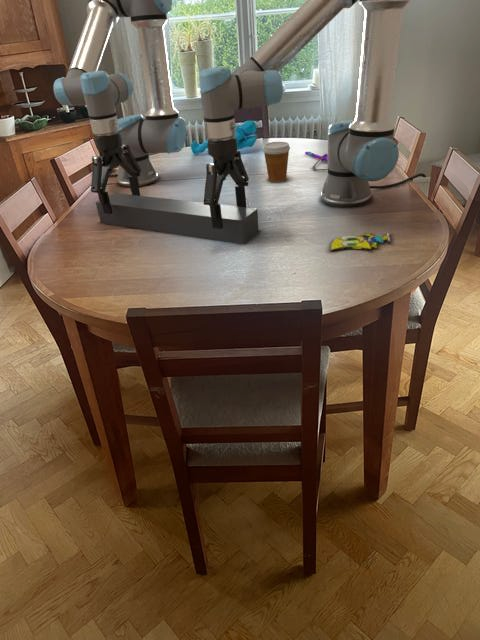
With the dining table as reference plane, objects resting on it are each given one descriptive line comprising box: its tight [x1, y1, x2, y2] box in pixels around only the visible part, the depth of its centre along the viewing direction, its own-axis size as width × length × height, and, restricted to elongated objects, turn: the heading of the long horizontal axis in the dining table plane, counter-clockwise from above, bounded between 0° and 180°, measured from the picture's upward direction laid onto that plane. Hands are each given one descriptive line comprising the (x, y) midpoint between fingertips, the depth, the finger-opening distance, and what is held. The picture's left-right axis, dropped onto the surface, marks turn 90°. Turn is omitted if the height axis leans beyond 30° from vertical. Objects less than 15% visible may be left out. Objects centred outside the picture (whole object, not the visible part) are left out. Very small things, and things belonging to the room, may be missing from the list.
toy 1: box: [189, 120, 258, 155], centre depth 209 cm, size 17×11×30 cm
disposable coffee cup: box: [262, 141, 291, 183], centre depth 169 cm, size 10×10×12 cm
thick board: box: [95, 192, 260, 245], centre depth 140 cm, size 51×9×7 cm, turn 62°
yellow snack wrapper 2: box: [330, 232, 391, 252], centre depth 122 cm, size 10×1×15 cm
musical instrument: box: [304, 151, 328, 171], centre depth 185 cm, size 24×2×20 cm
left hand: (123, 205), depth 147 cm, fingers open, 13 cm apart
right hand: (230, 218), depth 131 cm, fingers open, 13 cm apart
